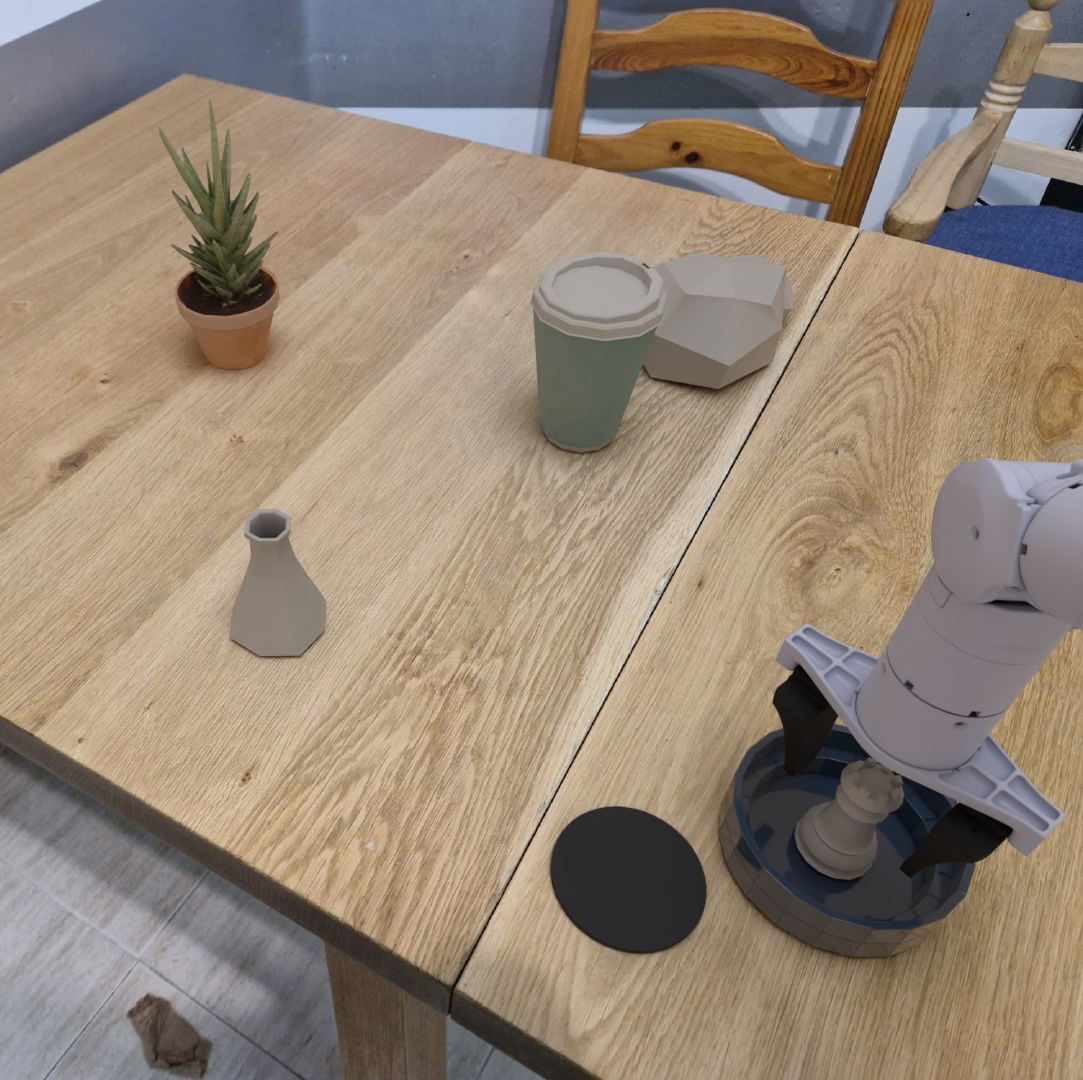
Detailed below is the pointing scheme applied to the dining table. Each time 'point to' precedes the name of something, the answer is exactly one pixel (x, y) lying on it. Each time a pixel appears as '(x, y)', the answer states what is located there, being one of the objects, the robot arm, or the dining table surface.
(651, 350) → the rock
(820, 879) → the bowl
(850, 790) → the rook chess piece
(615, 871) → the coaster
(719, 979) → the dining table surface
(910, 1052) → the dining table surface
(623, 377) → the disposable coffee cup
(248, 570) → the flask
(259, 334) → the potted plant
